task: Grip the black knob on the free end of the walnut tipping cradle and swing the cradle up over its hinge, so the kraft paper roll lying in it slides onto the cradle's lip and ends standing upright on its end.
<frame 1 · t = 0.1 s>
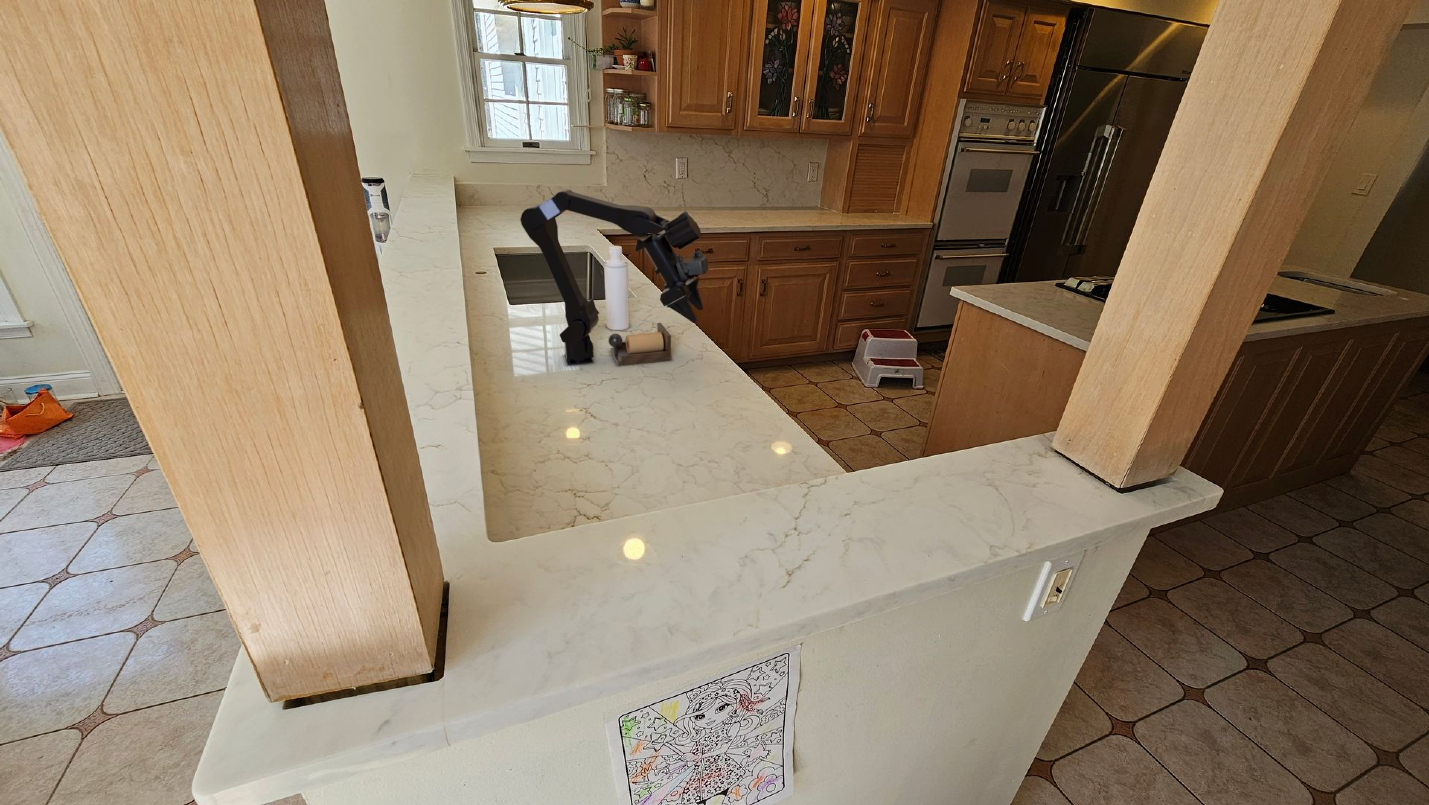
hand: (698, 315, 147), 15 cm above the counter, tool tilted 30°, fingers open, 9 cm apart
paper roll: (644, 343, 160), point 4 cm above the counter, touching tipping cradle
spray bottle: (618, 326, 181), on the counter
tipping cradle: (637, 343, 160), point 4 cm above the counter, hinge at 0.0°, touching paper roll
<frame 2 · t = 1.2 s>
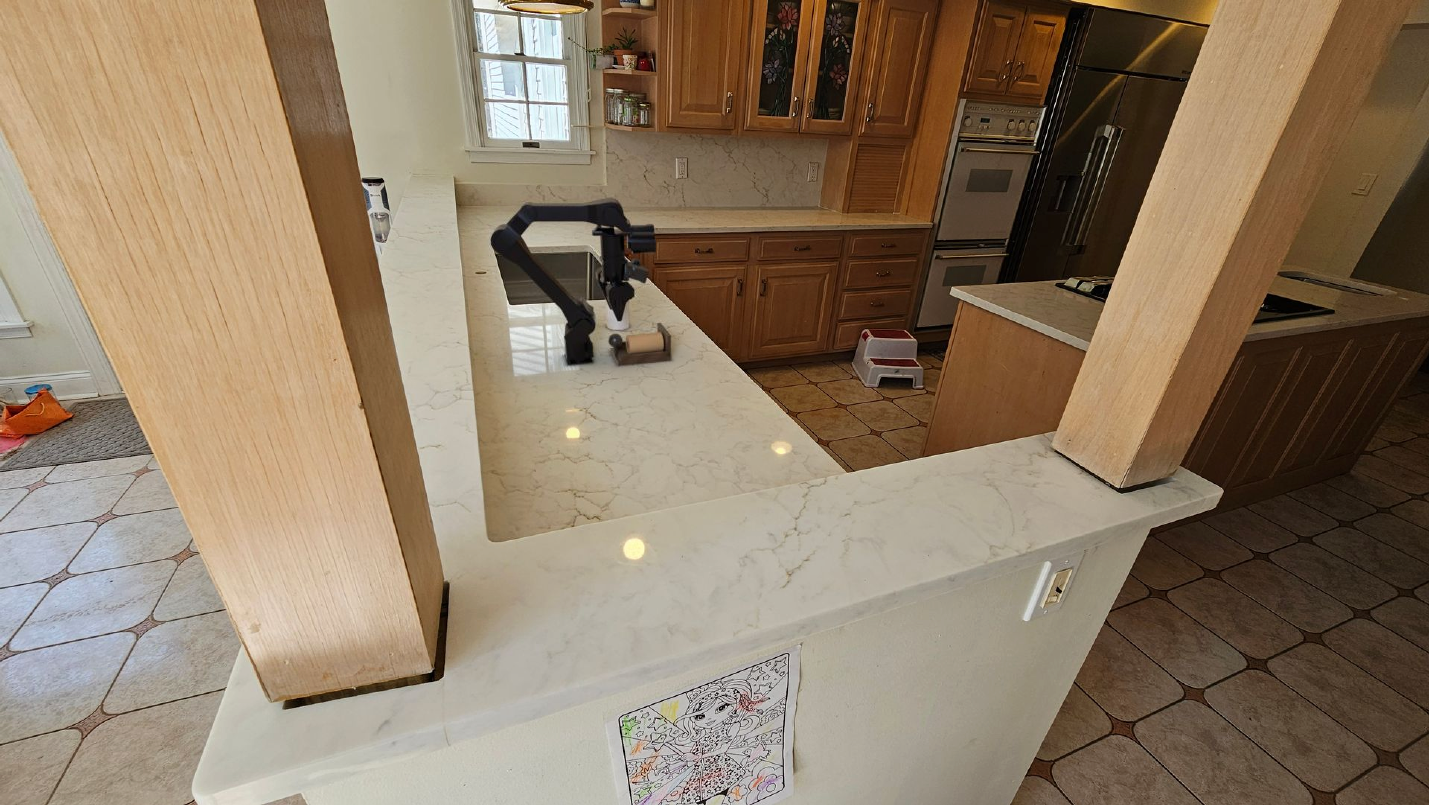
hand: (615, 315, 154), 12 cm above the counter, tool pointing down, fingers open, 9 cm apart
nothing on the counter moved.
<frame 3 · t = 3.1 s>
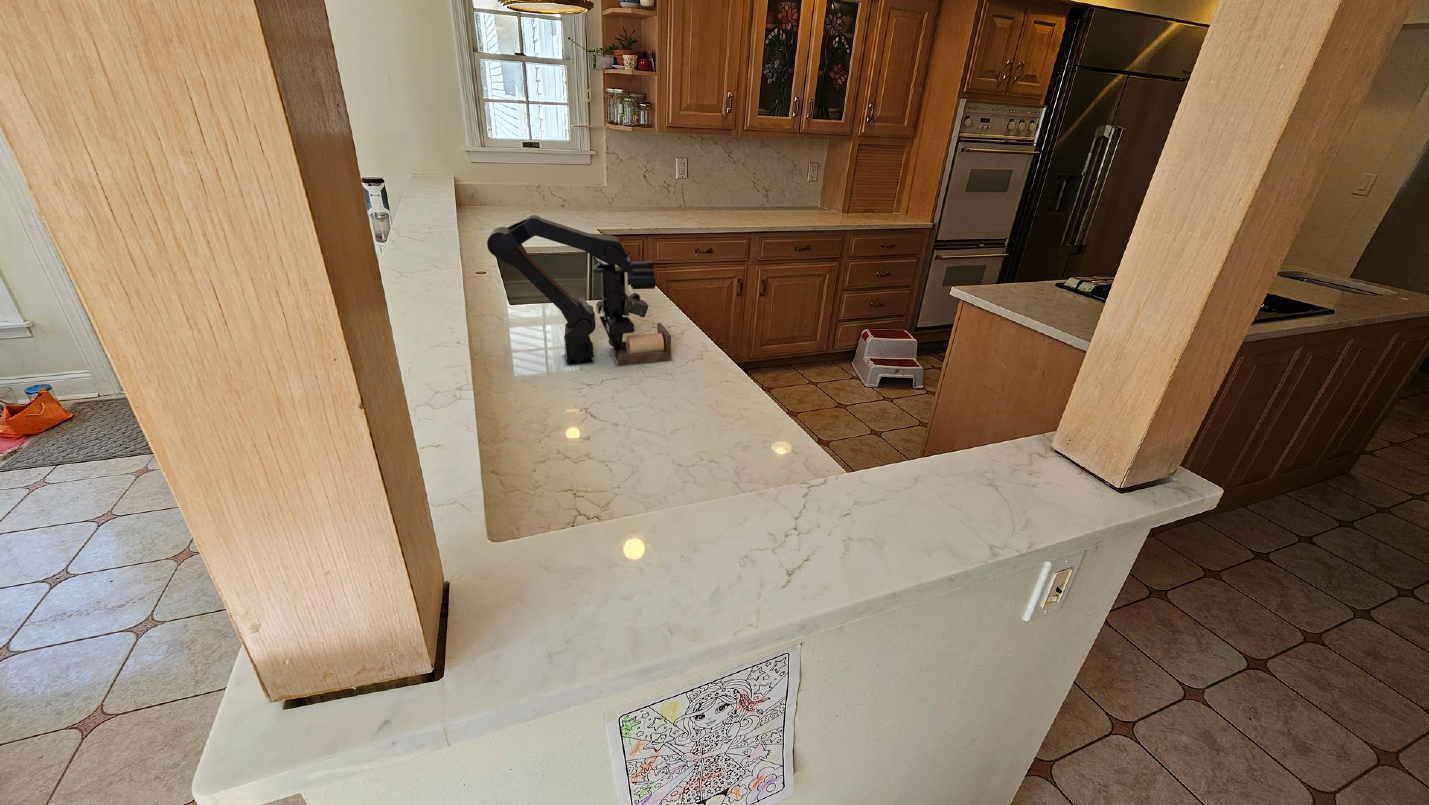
hand: (615, 347, 158), 3 cm above the counter, tool pointing down, fingers closed on tipping cradle, 3 cm apart
paper roll: (645, 343, 160), point 4 cm above the counter, tilted 11°, touching tipping cradle
tipping cradle: (637, 343, 160), point 4 cm above the counter, hinge at 0.0°, touching gripper, paper roll
everything else where it was.
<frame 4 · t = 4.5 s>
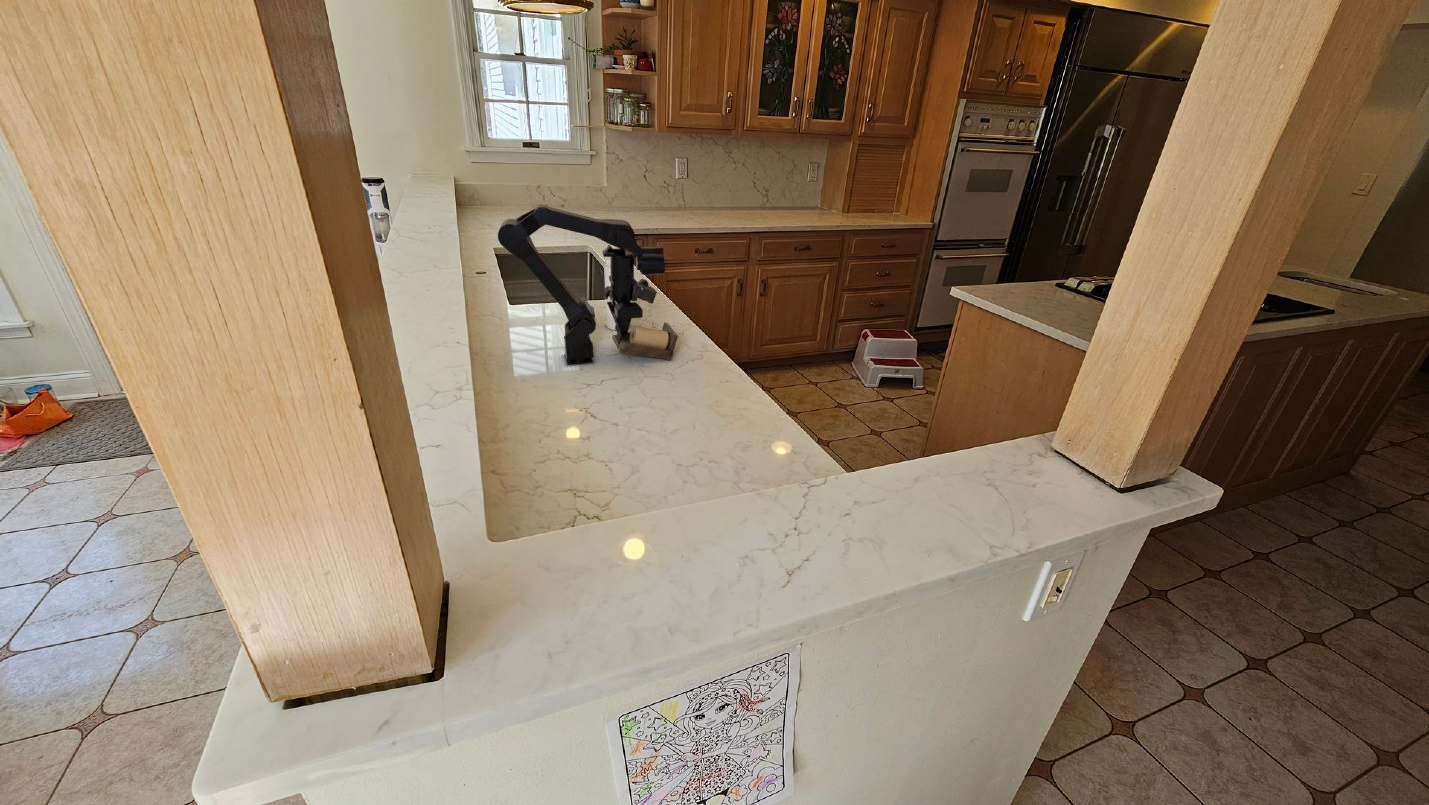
hand: (622, 333, 157), 7 cm above the counter, tool pointing down, fingers closed on tipping cradle, 3 cm apart
paper roll: (649, 337, 160), point 5 cm above the counter, tilted 17°, touching tipping cradle
tipping cradle: (642, 336, 159), point 5 cm above the counter, hinge at 15.7°, touching gripper, paper roll
everything else where it was.
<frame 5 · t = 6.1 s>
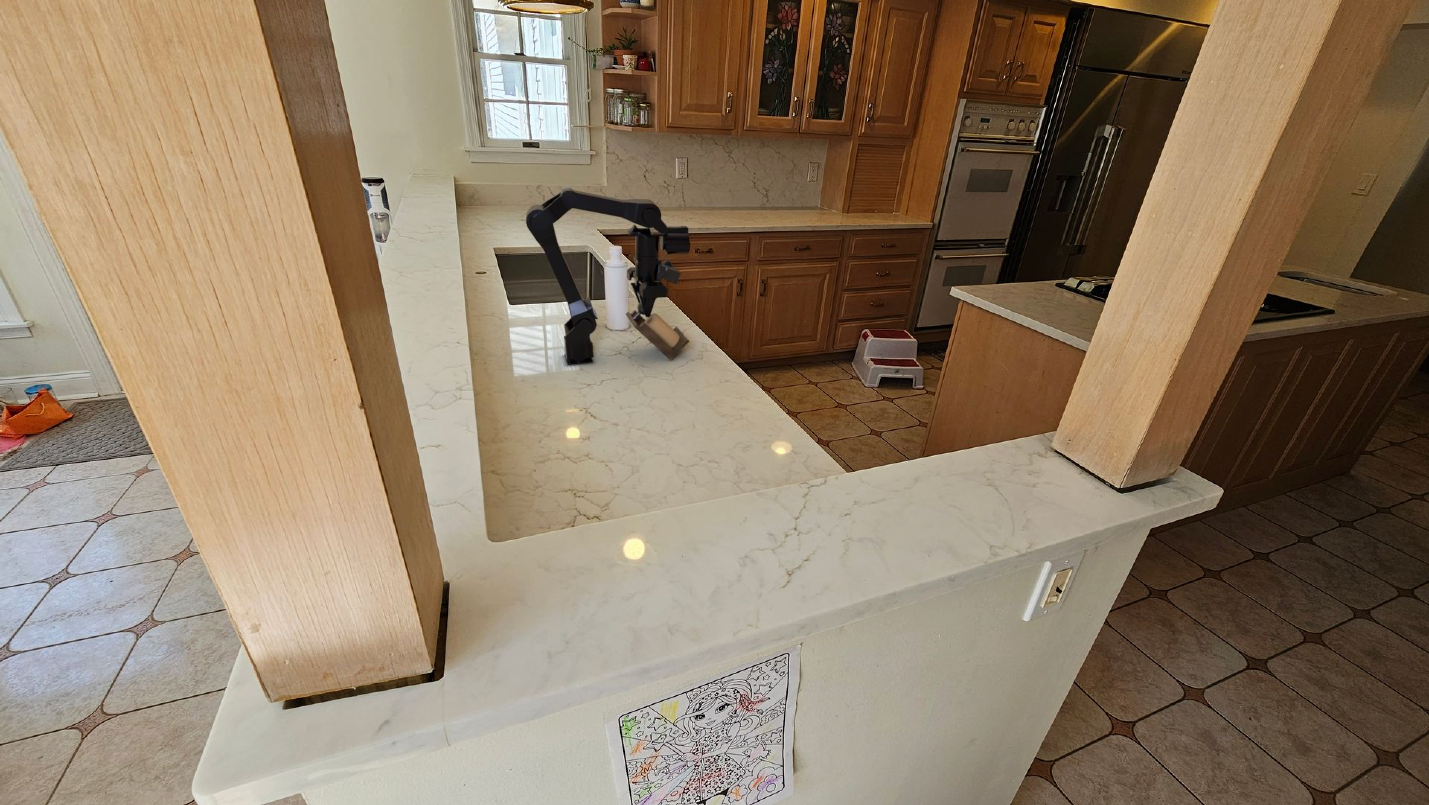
hand: (645, 314, 157), 11 cm above the counter, tool pointing down, fingers closed on tipping cradle, 3 cm apart
paper roll: (661, 331, 160), point 6 cm above the counter, tilted 46°, touching tipping cradle
tipping cradle: (655, 326, 159), point 8 cm above the counter, hinge at 46.3°, touching gripper, paper roll
everything else where it was.
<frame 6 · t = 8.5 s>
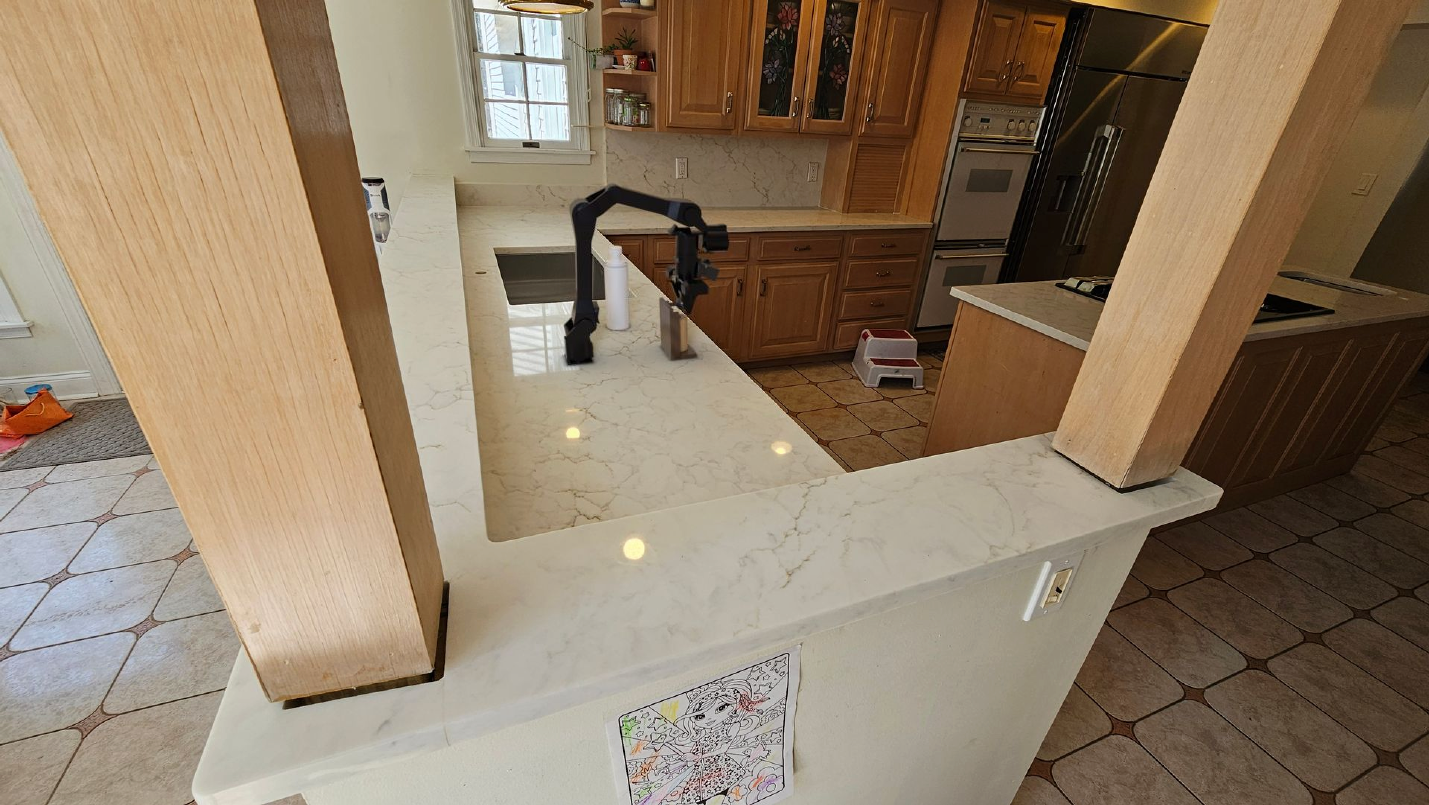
hand: (685, 311, 160), 11 cm above the counter, tool pointing down, fingers open, 4 cm apart
paper roll: (678, 332, 162), point 6 cm above the counter, tilted 88°, touching tipping cradle
tipping cradle: (677, 325, 161), point 8 cm above the counter, hinge at 87.9°, touching paper roll
everything else where it was.
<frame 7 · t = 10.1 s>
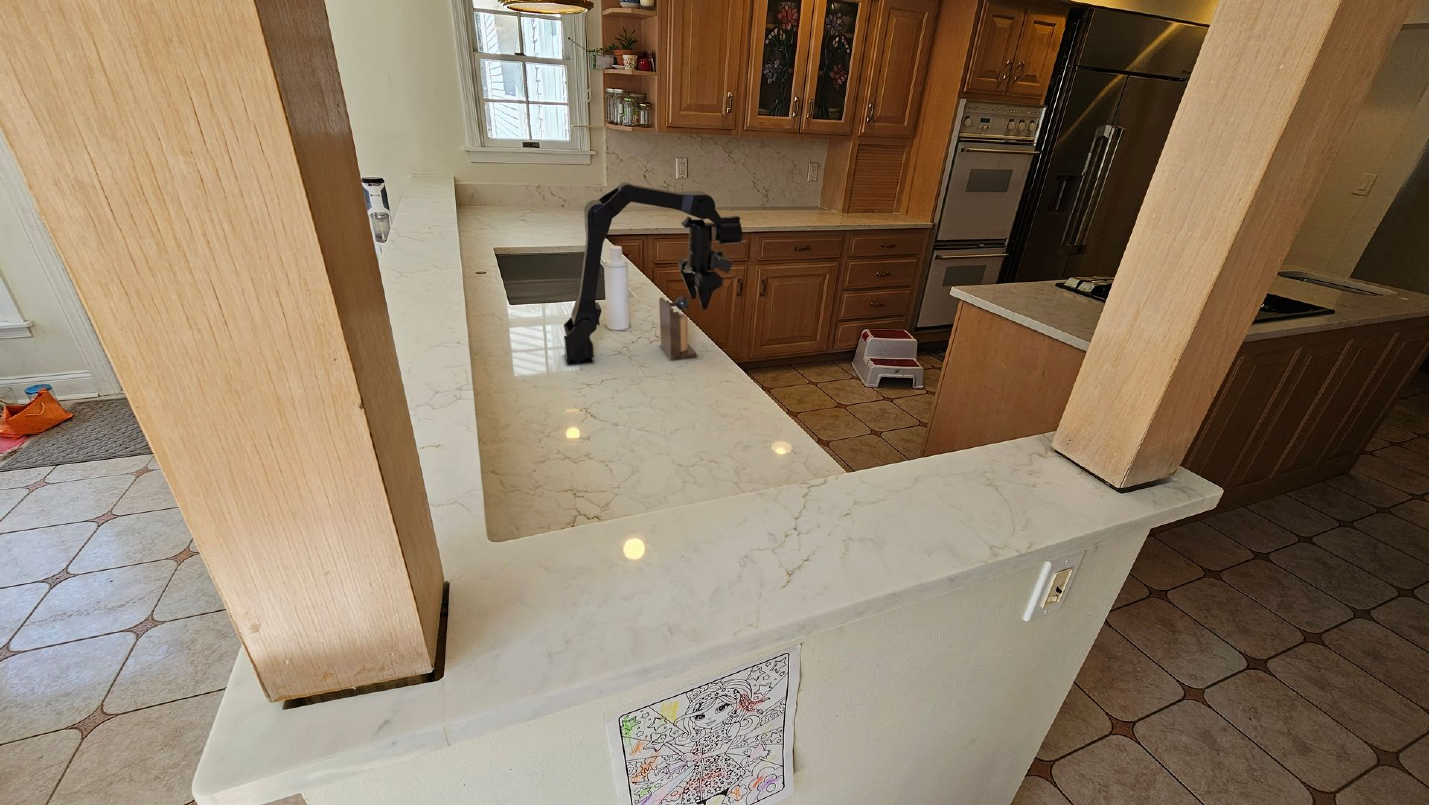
hand: (698, 304, 161), 13 cm above the counter, tool pointing down, fingers open, 9 cm apart
nothing on the counter moved.
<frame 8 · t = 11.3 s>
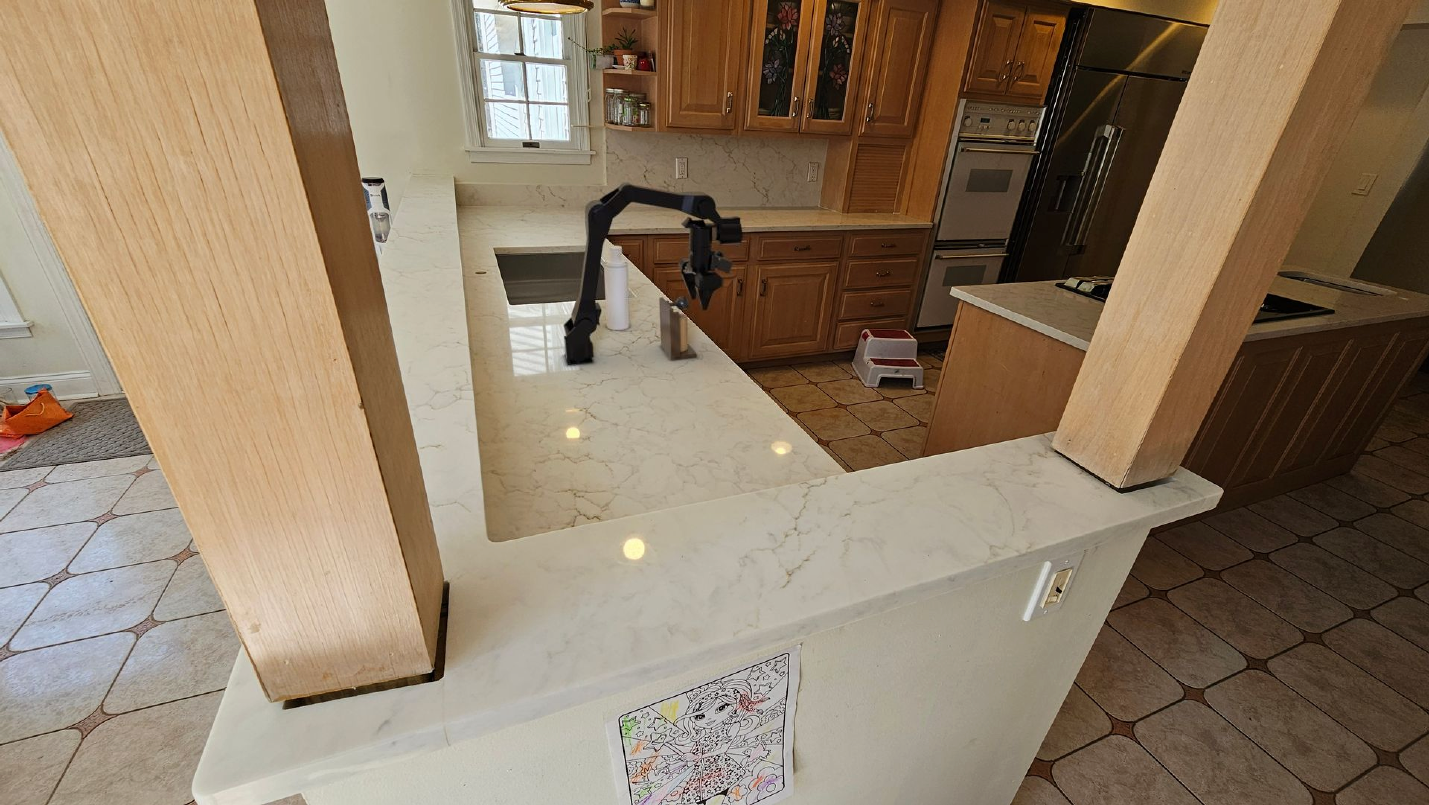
hand: (698, 304, 161), 13 cm above the counter, tool pointing down, fingers open, 9 cm apart
nothing on the counter moved.
at the end: tipping cradle at +88° (first picture: +0°); paper roll tilted 88°; paper roll point 5.7 cm above the counter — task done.
